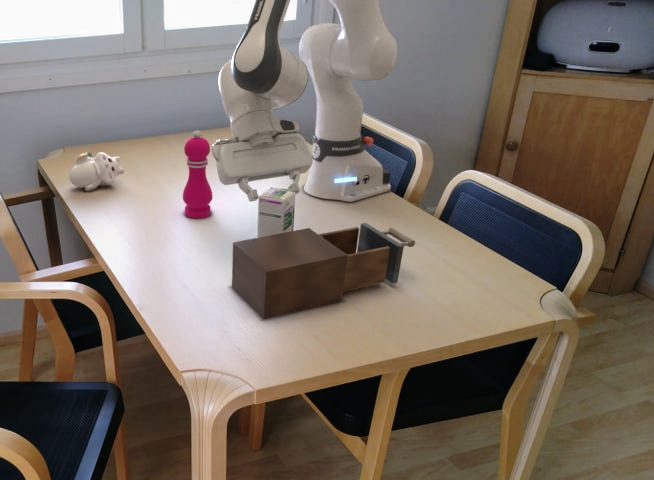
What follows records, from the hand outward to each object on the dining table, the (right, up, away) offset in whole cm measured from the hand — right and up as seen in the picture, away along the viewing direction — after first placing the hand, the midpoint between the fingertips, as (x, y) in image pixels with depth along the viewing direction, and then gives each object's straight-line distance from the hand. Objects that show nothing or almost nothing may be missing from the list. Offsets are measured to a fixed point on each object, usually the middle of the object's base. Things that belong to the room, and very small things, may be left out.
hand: (275, 196), depth 137 cm
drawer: (+16, -16, -2) cm, 23 cm away
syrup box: (+1, -12, +7) cm, 14 cm away
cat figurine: (-42, +14, +48) cm, 65 cm away
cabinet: (+1, -20, -6) cm, 21 cm away
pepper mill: (-15, +3, +29) cm, 33 cm away
